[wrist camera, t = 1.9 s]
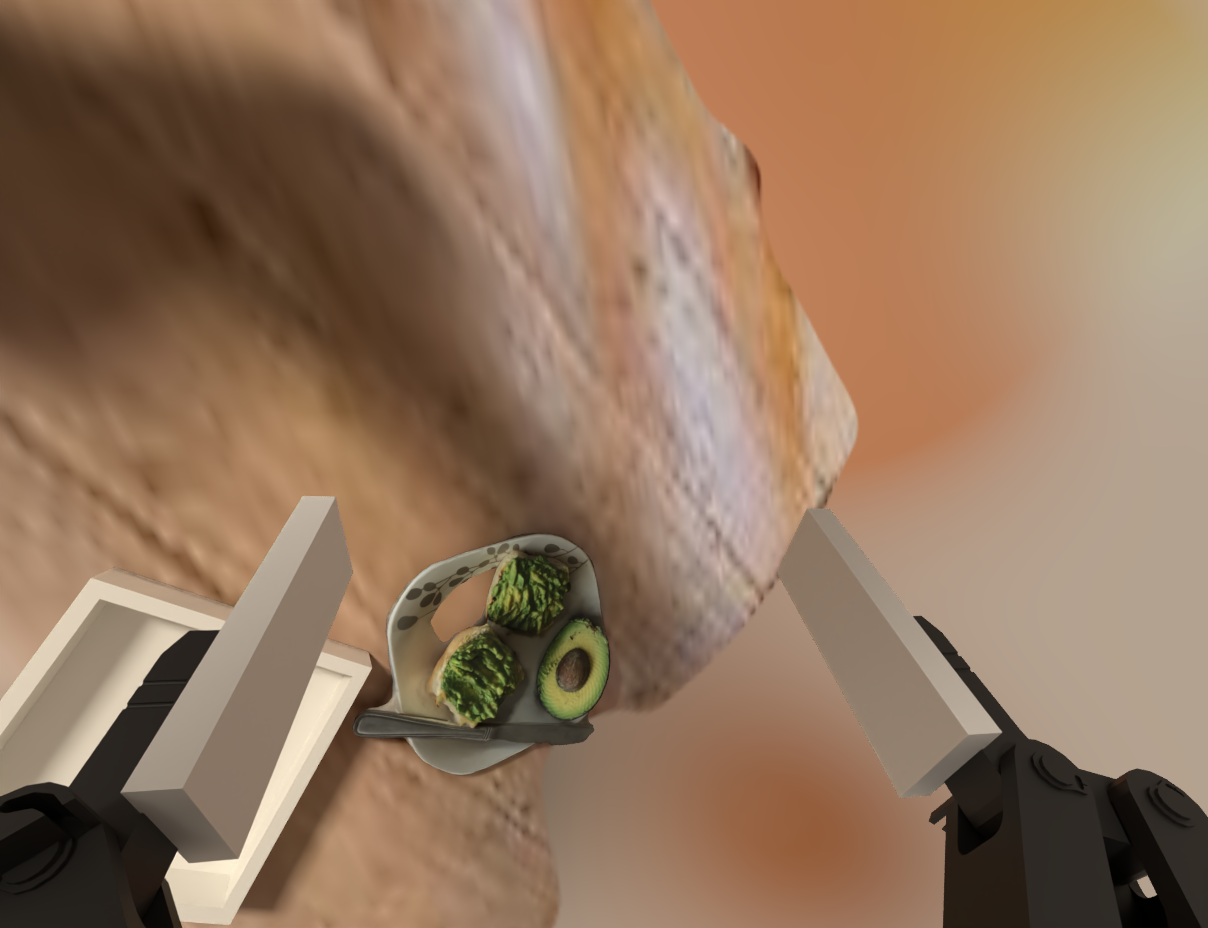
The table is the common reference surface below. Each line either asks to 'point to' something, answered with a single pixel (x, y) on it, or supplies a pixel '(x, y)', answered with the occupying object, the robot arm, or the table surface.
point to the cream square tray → (107, 682)
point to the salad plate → (496, 657)
